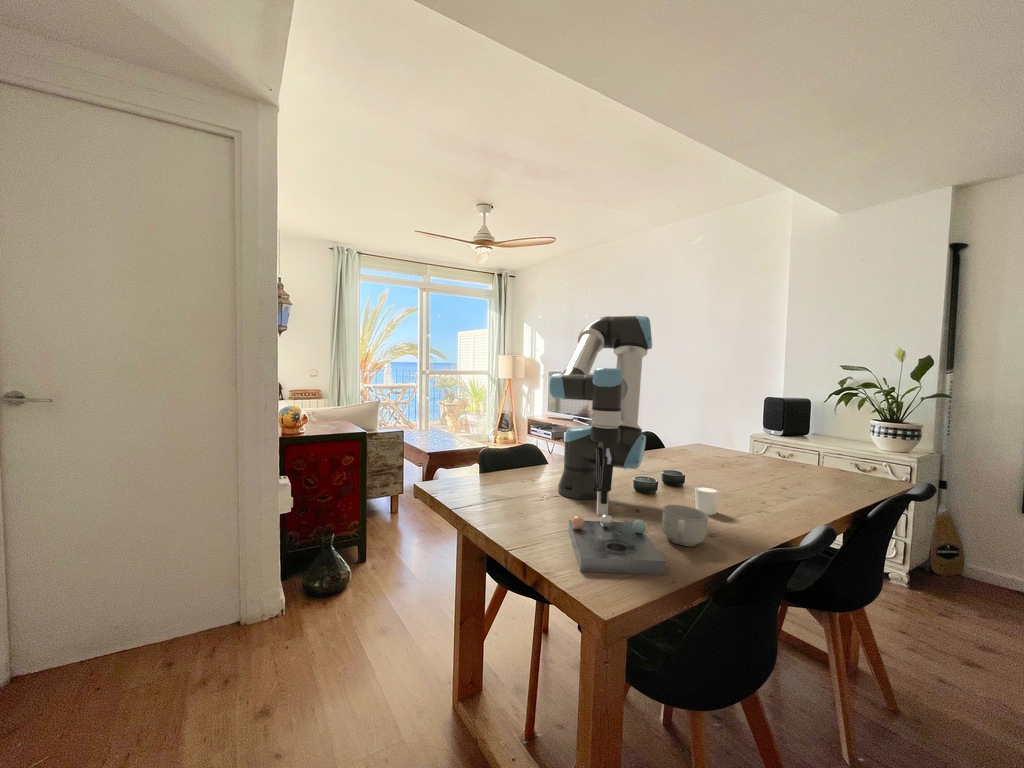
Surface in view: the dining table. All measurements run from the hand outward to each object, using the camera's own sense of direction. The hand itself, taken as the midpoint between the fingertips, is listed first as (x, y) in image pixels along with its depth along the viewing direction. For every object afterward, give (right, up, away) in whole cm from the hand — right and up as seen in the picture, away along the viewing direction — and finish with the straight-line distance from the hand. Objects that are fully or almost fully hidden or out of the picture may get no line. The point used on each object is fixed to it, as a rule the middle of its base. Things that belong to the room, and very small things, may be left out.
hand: (602, 514), depth 112 cm
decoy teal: (+7, -1, -8) cm, 11 cm away
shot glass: (+36, -5, +19) cm, 41 cm away
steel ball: (0, 0, -5) cm, 5 cm away
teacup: (+19, -6, -6) cm, 21 cm away
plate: (0, -5, -12) cm, 13 cm away
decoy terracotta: (-8, 0, -7) cm, 10 cm away
